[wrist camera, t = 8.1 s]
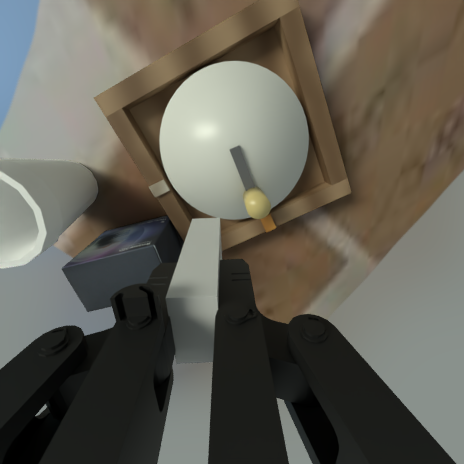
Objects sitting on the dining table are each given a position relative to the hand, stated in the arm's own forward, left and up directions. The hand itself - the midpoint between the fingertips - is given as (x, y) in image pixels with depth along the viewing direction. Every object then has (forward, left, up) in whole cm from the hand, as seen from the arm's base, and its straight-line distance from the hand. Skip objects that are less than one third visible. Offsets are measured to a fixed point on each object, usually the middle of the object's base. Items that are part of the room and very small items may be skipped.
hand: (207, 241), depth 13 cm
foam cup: (+17, -7, -21) cm, 28 cm away
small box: (+13, +4, -21) cm, 25 cm away
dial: (-4, -2, -19) cm, 19 cm away
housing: (-4, -2, -20) cm, 21 cm away
